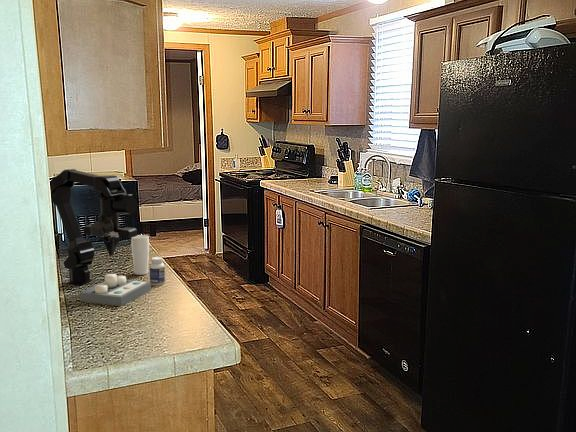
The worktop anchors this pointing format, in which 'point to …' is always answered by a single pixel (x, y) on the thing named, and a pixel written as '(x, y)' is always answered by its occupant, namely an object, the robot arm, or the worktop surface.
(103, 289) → the button
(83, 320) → the worktop surface
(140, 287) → the button board
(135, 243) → the white tall cylinder
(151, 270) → the pill bottle
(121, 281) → the button
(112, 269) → the worktop surface
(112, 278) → the button
